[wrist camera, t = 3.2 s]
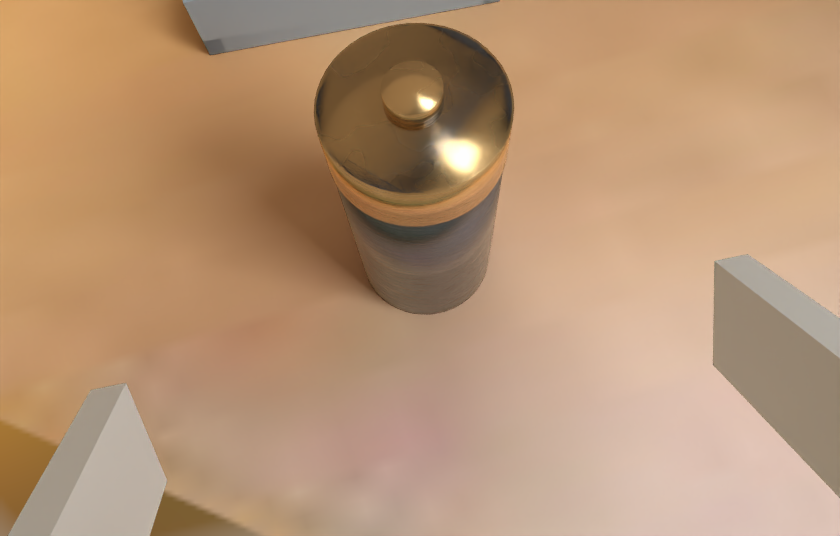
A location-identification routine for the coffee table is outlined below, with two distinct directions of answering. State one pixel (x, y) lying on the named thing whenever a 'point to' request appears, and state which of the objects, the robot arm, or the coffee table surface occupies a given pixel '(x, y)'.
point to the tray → (299, 18)
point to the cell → (418, 158)
